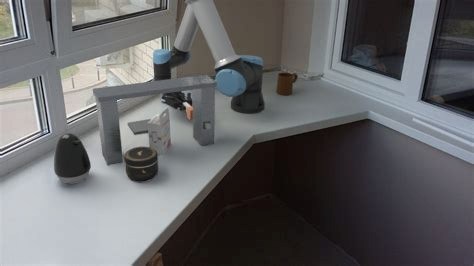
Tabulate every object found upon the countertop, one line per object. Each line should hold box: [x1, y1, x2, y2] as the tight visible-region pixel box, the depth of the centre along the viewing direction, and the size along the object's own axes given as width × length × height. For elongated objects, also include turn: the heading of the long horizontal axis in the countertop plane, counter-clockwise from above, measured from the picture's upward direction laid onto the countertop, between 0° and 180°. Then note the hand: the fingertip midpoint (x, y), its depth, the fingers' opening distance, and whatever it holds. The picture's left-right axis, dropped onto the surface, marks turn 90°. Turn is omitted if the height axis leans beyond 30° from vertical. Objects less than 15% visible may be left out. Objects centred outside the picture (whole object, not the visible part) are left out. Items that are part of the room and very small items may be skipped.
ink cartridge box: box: [147, 107, 172, 156], centre depth 142 cm, size 9×5×15 cm, turn 168°
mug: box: [276, 72, 298, 96], centre depth 202 cm, size 12×8×9 cm, turn 129°
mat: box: [127, 118, 152, 136], centre depth 161 cm, size 10×10×1 cm
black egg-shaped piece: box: [53, 132, 92, 185], centre depth 122 cm, size 10×10×15 cm
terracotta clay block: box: [186, 105, 211, 129], centre depth 150 cm, size 16×4×4 cm, turn 28°
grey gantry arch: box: [92, 74, 217, 166], centre depth 140 cm, size 9×39×24 cm, turn 118°
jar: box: [123, 146, 159, 183], centre depth 127 cm, size 10×10×8 cm
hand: (190, 111), depth 156 cm, fingers closed
